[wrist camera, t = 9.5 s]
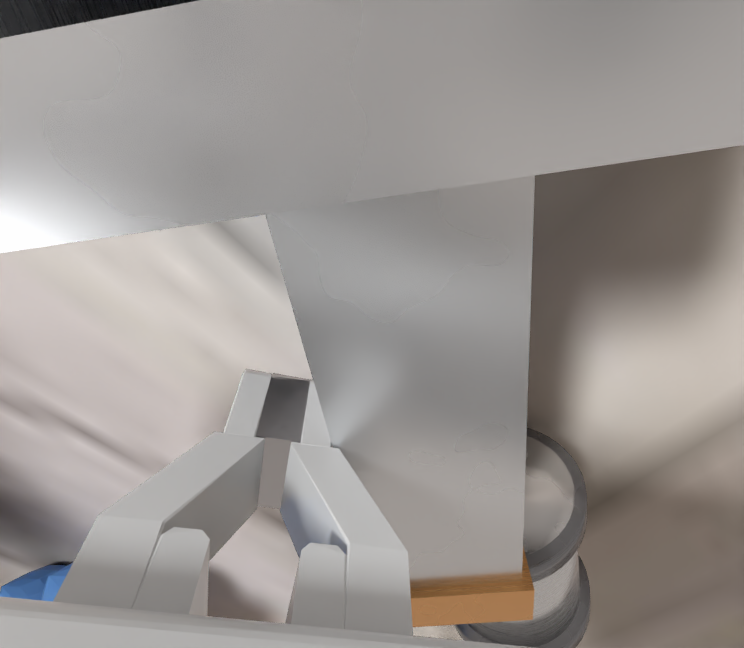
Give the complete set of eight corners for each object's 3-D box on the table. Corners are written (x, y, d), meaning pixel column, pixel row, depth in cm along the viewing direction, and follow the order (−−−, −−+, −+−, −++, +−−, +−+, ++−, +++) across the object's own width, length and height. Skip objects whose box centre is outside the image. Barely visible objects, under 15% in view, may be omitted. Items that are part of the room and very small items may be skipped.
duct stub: (406, 437, 17) (416, 582, 13) (555, 411, 16) (616, 556, 12) (439, 536, 20) (454, 677, 16) (564, 518, 19) (614, 661, 15)
